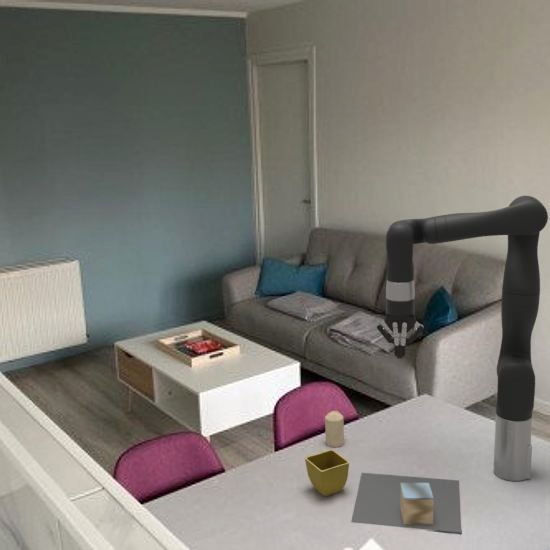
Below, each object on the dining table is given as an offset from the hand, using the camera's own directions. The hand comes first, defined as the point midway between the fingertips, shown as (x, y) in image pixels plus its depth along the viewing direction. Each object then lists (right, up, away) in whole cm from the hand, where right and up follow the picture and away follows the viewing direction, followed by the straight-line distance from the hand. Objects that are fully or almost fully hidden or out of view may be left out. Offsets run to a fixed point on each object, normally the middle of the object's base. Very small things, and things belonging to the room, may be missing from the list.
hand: (400, 357), depth 189 cm
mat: (0, -36, -11) cm, 37 cm away
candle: (-16, -29, +21) cm, 39 cm away
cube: (0, -30, -20) cm, 36 cm away
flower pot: (-20, -35, -5) cm, 41 cm away
